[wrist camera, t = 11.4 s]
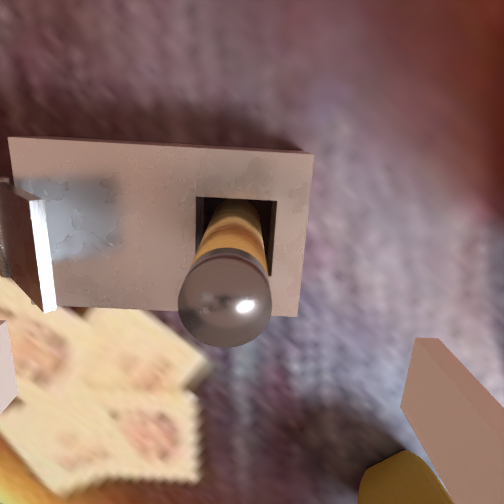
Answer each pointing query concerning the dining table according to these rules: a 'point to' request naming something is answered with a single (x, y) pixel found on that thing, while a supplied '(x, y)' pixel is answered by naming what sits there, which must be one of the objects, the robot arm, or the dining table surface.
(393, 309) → the dining table surface
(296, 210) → the block
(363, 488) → the flower pot
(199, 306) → the lynch pin
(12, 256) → the ring flap
